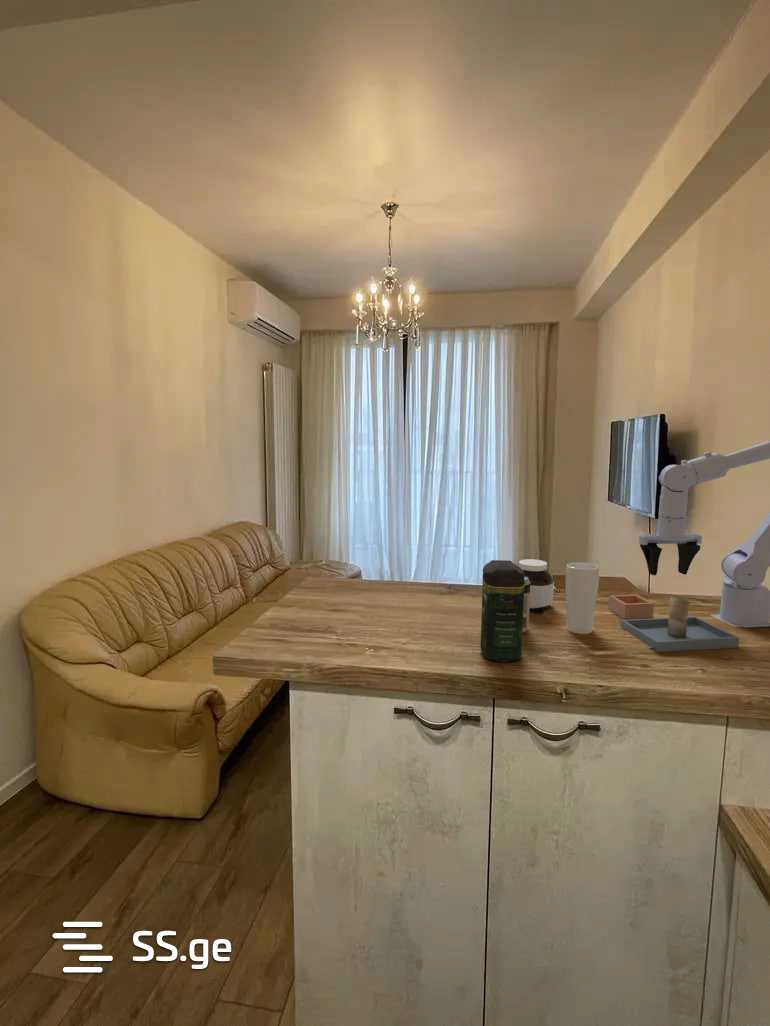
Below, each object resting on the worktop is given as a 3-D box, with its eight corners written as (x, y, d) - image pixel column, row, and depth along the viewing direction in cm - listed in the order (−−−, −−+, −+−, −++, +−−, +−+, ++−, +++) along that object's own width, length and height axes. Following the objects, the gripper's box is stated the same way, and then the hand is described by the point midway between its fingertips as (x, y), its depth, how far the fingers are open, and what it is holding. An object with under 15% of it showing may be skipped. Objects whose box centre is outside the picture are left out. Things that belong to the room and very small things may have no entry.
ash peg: (678, 631, 119) (681, 596, 118) (689, 637, 116) (692, 601, 115) (663, 632, 119) (666, 596, 118) (674, 638, 115) (677, 601, 114)
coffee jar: (525, 664, 104) (529, 569, 102) (483, 663, 105) (485, 568, 102) (516, 644, 114) (519, 557, 111) (478, 643, 115) (480, 556, 112)
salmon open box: (635, 610, 135) (636, 594, 135) (652, 619, 128) (653, 603, 128) (608, 611, 134) (609, 595, 134) (624, 621, 127) (625, 604, 127)
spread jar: (557, 608, 137) (559, 562, 135) (536, 620, 129) (538, 571, 127) (513, 598, 145) (515, 555, 143) (491, 609, 137) (492, 563, 135)
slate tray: (694, 625, 125) (695, 616, 125) (738, 647, 112) (739, 637, 112) (620, 628, 123) (621, 619, 122) (656, 652, 110) (656, 642, 110)
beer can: (530, 628, 123) (532, 576, 122) (526, 635, 119) (528, 581, 117) (509, 624, 125) (510, 573, 124) (504, 631, 121) (506, 579, 119)
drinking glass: (598, 638, 117) (602, 570, 115) (565, 636, 118) (568, 568, 116) (592, 627, 124) (596, 562, 121) (561, 625, 125) (564, 561, 123)
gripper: (689, 513, 132) (684, 568, 134) (633, 514, 130) (629, 570, 132) (710, 518, 125) (704, 576, 127) (651, 519, 123) (646, 578, 125)
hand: (667, 573), depth 129 cm, fingers open, 7 cm apart
